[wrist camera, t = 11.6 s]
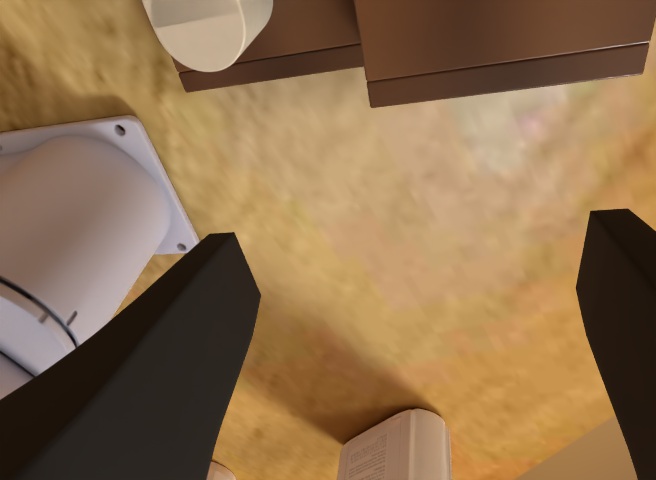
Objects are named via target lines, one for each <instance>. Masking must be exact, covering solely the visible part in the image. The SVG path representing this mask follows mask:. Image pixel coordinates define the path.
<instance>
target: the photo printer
mask: <svg viewBox="0 0 656 480" xmlns="http://www.w3.org/2000/svg"><path fill="white" fill-rule="evenodd" d="M337 480H452V466H451V443H450V432H449V428H448V427H446V426H445V422H444V420H443V419H442V418H441V417H440V416H438V415H437V414H435V413H433V412H430V411H427V410H424V409H418V408H417V409H413V410H411V409H409V410H406V411H403V412H400V413H398V414H396V415H394V416H392V417H390V418H389V419H387V420H385V421H383V422H381V423H380V424H378V425H376V426H374V427H372V428H370V429H369V430H367V431H365V432H363V433H362V434H360V435H358V436H356V437H355V438H353V439H351V440H350V441H348V442H347V443H346V444H345V445H344V446H343V448H342V450H341V454H340V461H339V468H338V475H337Z"/></svg>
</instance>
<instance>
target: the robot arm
mask: <svg viewBox="0 0 656 480" xmlns="http://www.w3.org/2000/svg"><path fill="white" fill-rule="evenodd" d="M118 125H120V126H122V127H123V128H124V130H125V131H123V130H121V129H120V128H119V127H118ZM182 244H183V245H182ZM184 245H185V246H184ZM180 253H187V254H185V255H184V256H183V257H182V258H181V259H180V260H179V261H178V262H177V263H175V264H174V265H173V266H172V267H171V268H170V269H169V270H168V271H167V272H166V273H165V274H163V275H162V276H161V277H160V278H159V279H158V280H157V281H156V282H155V283H153V284H152V285H151V286H150V287H149V288H148V289H147V290H146V291H145V292H143V293H142V294H141V295H140V296H139V297H138V298H137V299H136V300H134V301H133V302H132V303H131V304H130V305H128V306H127V307H126V308H125V309H124V310H122V311H121V312H120V313H119V314H118V315H116V316H115V317H114V318H113V319H112V320H111V318H112V317H113V315H114V314H115V312H116V311H117V309H118V308H119V306H120V304H121V303H122V301H123V300H124V298H125V297H126V295H127V294H128V292H129V291H130V289H131V288H132V286H133V285H134V283H135V282H136V280H137V279H138V277H139V275H140V274H141V272H142V271H143V269H144V268H145V266H146V265H147V263H148V262H149V260H150V259H151V257H152V256H153V255H160V254H180ZM576 291H577V296H578V301H579V305H580V310H581V315H582V319H583V323H584V327H585V332H586V336H587V338H588V341H589V344H590V347H591V350H592V352H593V355H594V358H595V361H596V363H597V366H598V369H599V371H600V374H601V377H602V380H603V382H604V385H605V388H606V390H607V393H608V396H609V398H610V401H611V404H612V406H613V409H614V412H615V414H616V417H617V420H618V422H619V424H620V428H621V430H622V433H623V436H624V438H625V441H626V444H627V446H628V449H629V452H630V456H631V459H632V462H633V465H634V468H635V471H636V474H637V478H638V480H656V231H655V230H653V229H652V228H651V227H650V226H649V225H647V224H646V223H645V222H644V221H643V220H641V219H640V218H639V217H638V216H636V215H635V214H634V213H633V212H631V211H630V210H629V209H613V210H597V211H590V216H589V221H588V227H587V232H586V237H585V242H584V248H583V253H582V258H581V263H580V269H579V274H578V279H577V285H576ZM260 298H261V294H260V292H259V289H258V287H257V285H256V282H255V280H254V278H253V275H252V273H251V271H250V268H249V266H248V263H247V261H246V259H245V256H244V254H243V252H242V249H241V247H240V245H239V242H238V240H237V238H236V235H235V233H234V232H232V233H215V234H209V235H208V236H206V237H205V238H204V239H203V240H201V241H200V240H199V238H198V236H197V234H196V232H195V230H194V228H193V226H192V224H191V222H190V220H189V218H188V216H187V214H186V212H185V210H184V208H183V206H182V204H181V202H180V200H179V198H178V196H177V194H176V192H175V190H174V188H173V186H172V184H171V182H170V179H169V177H168V175H167V173H166V171H165V169H164V167H163V165H162V163H161V161H160V159H159V157H158V155H157V153H156V151H155V149H154V147H153V145H152V143H151V141H150V139H149V137H148V135H147V133H146V131H145V129H144V127H143V125H142V123H141V122H140V120H139V119H137V118H136V117H134V116H132V115H123V116H116V117H109V118H101V119H94V120H87V121H80V122H73V123H65V124H58V125H51V126H44V127H37V128H30V129H22V130H15V131H8V132H1V133H0V480H207V476H208V472H209V468H210V463H211V459H212V455H213V451H214V447H215V444H216V440H217V437H218V434H219V431H220V427H221V424H222V421H223V419H224V416H225V413H226V410H227V407H228V405H229V402H230V399H231V396H232V393H233V391H234V388H235V385H236V382H237V379H238V377H239V374H240V371H241V368H242V365H243V362H244V360H245V357H246V354H247V351H248V348H249V345H250V342H251V339H252V336H253V332H254V328H255V323H256V319H257V314H258V308H259V303H260ZM110 320H111V321H110Z"/></svg>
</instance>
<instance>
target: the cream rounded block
mask: <svg viewBox="0 0 656 480" xmlns="http://www.w3.org/2000/svg"><path fill="white" fill-rule="evenodd" d="M141 1H142V3H143V6H144V8H145V10H146V13H147V15H148V18H149V20H150V22H151V25H152V27H153V29H154V32H155V34H156V36H157V38H158V39H159V41H160V43H161V44H162V46H163V47H164V48H165V50H166V51H167V52H168V53H169V54H170V55H171V56H172V57H173V58H174V59H176V60H177V61H178V62H180V63H181V64H183V65H185V66H187V67H189V68H191V69H194V70H197V71H203V72H215V71H220V70H223V69H225V68H227V67H229V66H230V65H231V64H233V63H234V62H235V61H236V60H237V58H238V57H239V56H240V55H241V54H242V53H243V51H244V50H245V49H246V48H247V47H248V46H249V44H250V43H251V42H252V41H253V40H254V39H255V37H256V36H257V35H258V34H259V33H260V32H261V30H262V29H263V28H264V27H265V26H266V24H267V22H268V21H269V18H270V16H271V13H272V8H273V0H141Z"/></svg>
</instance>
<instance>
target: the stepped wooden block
mask: <svg viewBox="0 0 656 480" xmlns="http://www.w3.org/2000/svg"><path fill="white" fill-rule="evenodd" d="M655 18H656V0H273V8H272V13H271V16H270V18H269V21H268V22H267V24H266V26H265V27H264V28H263V29H262V30H261V32H260V33H259V34H258V35H257V36H256V37H255V39H254V40H253V41H252V42H251V43H250V44H249V46H248V47H247V48H246V49H245V50H244V51H243V53H242V54H241V55H240V56H239V57H238V58H237V60H236V61H235V62H234V63H233V64H231V65H230V66H229V67H227V68H225V69H223V70H220V71H215V72H203V71H197V70H194V69H191V68H189V67H187V66H185V65H183V64H181V63H180V62H178V61H177V60H176V59H174V58H173V57H172V56H171V57H172V59H173V62H174V64H175V67H176V69H177V71H178V72H180V73H179V77H180V79H181V82H182V84H183V87H184V89H185V91H186V92H194V91H201V90H208V89H215V88H222V87H228V86H235V85H242V84H249V83H255V82H262V81H269V80H276V79H282V78H289V77H296V76H303V75H310V74H316V73H323V72H330V71H337V70H343V69H350V68H357V67H364V69H365V76H366V80H367V88H368V95H369V101H370V106H371V108H376V107H384V106H392V105H400V104H408V103H417V102H425V101H433V100H441V99H449V98H457V97H465V96H473V95H481V94H489V93H497V92H505V91H513V90H521V89H529V88H537V87H545V86H553V85H562V84H570V83H578V82H586V81H594V80H602V79H610V78H618V77H626V76H634V75H641V74H642V73H643V71H644V66H645V62H646V57H647V53H648V48H649V43H648V42H650V40H651V36H652V31H653V27H654V22H655Z"/></svg>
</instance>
